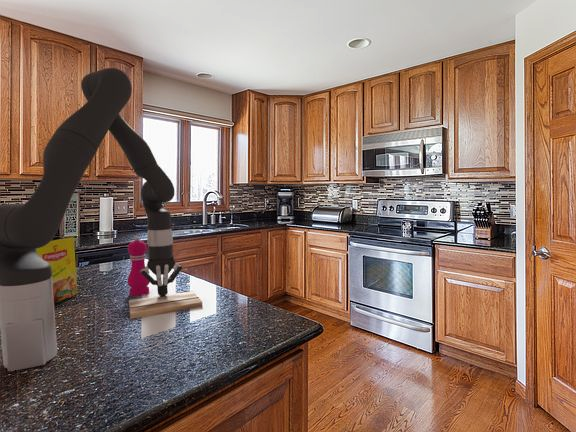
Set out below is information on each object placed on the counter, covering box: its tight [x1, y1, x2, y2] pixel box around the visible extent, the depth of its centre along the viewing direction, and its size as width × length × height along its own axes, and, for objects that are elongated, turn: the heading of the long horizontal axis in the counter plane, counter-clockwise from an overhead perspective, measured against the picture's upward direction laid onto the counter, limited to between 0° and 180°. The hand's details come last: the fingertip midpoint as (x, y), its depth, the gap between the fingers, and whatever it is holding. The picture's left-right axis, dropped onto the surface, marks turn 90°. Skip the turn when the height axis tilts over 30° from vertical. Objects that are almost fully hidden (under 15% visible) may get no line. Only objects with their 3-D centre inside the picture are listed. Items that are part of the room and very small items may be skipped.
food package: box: [36, 236, 78, 304], centre depth 110 cm, size 15×1×20 cm, turn 168°
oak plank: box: [129, 296, 203, 320], centre depth 102 cm, size 5×20×2 cm, turn 118°
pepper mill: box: [126, 235, 151, 297], centre depth 118 cm, size 7×7×20 cm
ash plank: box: [128, 290, 198, 307], centre depth 108 cm, size 7×20×2 cm, turn 118°
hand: (162, 296), depth 110 cm, fingers closed
